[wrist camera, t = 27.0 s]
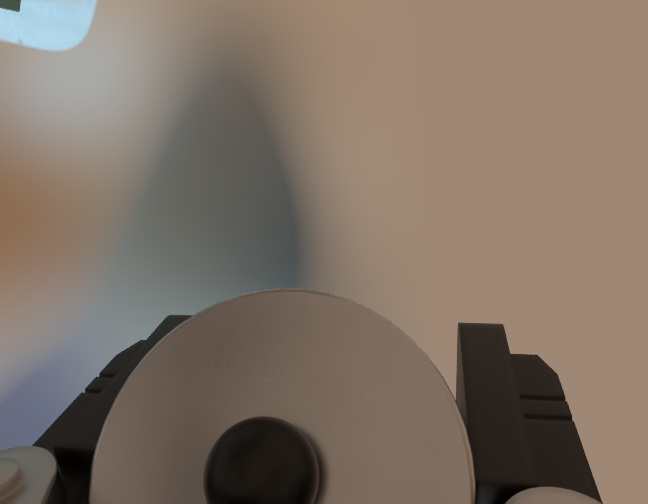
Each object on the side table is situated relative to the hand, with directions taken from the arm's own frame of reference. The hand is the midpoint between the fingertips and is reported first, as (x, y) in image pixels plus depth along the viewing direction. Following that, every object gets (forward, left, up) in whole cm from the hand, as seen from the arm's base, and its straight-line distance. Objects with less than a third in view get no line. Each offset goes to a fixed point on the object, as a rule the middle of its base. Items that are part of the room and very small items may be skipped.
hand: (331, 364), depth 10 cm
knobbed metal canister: (+5, 0, +1) cm, 5 cm away
